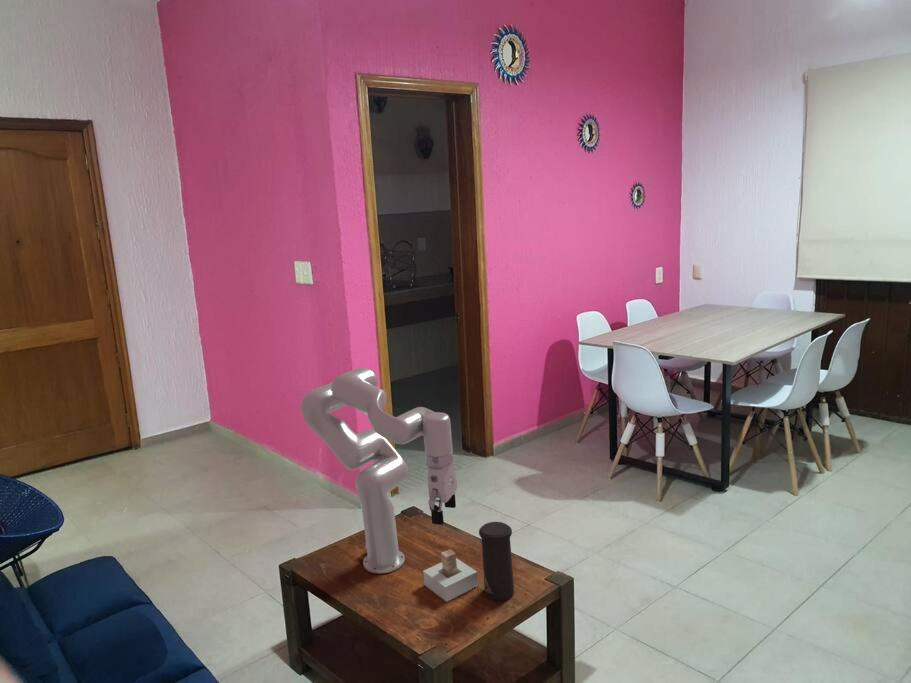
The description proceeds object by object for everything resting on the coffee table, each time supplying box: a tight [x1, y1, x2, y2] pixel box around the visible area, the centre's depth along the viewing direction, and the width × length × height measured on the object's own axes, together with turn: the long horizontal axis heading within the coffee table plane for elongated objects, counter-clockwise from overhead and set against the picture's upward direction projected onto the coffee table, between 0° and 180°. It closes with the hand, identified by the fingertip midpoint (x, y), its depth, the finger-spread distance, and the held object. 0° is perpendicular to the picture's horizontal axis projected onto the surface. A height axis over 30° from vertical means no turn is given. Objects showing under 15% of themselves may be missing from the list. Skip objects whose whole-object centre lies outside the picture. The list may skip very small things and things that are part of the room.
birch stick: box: [440, 548, 457, 578], centre depth 193 cm, size 3×3×9 cm
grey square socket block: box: [422, 557, 479, 603], centre depth 194 cm, size 11×11×4 cm
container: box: [478, 521, 515, 602], centre depth 187 cm, size 9×9×20 cm
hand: (444, 515), depth 190 cm, fingers open, 9 cm apart
